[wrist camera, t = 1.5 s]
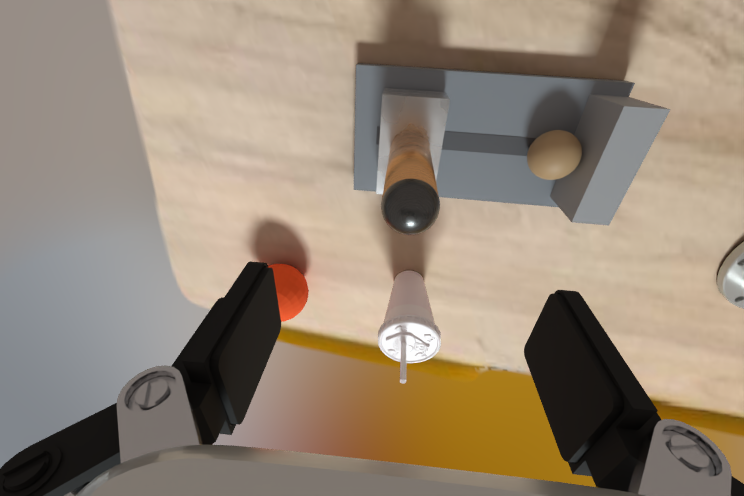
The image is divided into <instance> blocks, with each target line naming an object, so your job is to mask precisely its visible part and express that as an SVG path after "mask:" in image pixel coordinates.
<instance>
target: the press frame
mask: <svg viewBox="0 0 744 496" xmlns="http://www.w3.org/2000/svg"><path fill="white" fill-rule="evenodd" d="M634 84H635V83H632V82H628V81H622V80H607V79H591V78H576V77H561V76H546V75H530V74H515V73H500V72H485V71H469V70H454V69H439V68H424V67H408V66H393V65H378V64H363V63H358V64H357V65H356V101H355V153H354V190H364V191H375V192H376V188H377V172H378V156H379V140H380V123H381V107H382V94H383V92H384V89H385V88H395V89H409V90H424V91H438V92H446V93H447V95H448V97H449V98H450V103H449V109H448V114H447V120H446V126H445V132H444V138H443V144H442V150H441V155H440V161H439V167H438V173H437V179H436V184H437V190H438V196H439V197H446V198H457V199H469V200H481V201H493V202H504V203H516V204H528V205H539V206H551V207H559V208H560V209H561V210H562V211H563V213H564V214H565V215H566V216H567V217H568V218H569V220H570V221H571V222H576V223H587V224H599V225H609V224H610V222H611V220H612V218H613V217H614V215H615V213H616V211H617V209H618V207H619V205H620V203H621V201H622V200H623V198H624V196H625V194H626V192H627V190H628V188H629V186H630V185H631V183H632V181H633V179H634V177H635V175H636V173H637V171H638V169H639V168H640V166H641V164H642V162H643V160H644V158H645V156H646V154H647V153H648V151H649V149H650V147H651V145H652V143H653V141H654V139H655V137H656V136H657V134H658V132H659V130H660V128H661V126H662V124H663V122H664V120H665V119H666V117H667V115H668V113H669V111H670V109H667V108H664V107H660V106H657V105H654V104H650V103H647V102H644V101H640V100H637V99H634V98H630V97H629V95H630V93H631V90H632V88H633V86H634Z"/></svg>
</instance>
